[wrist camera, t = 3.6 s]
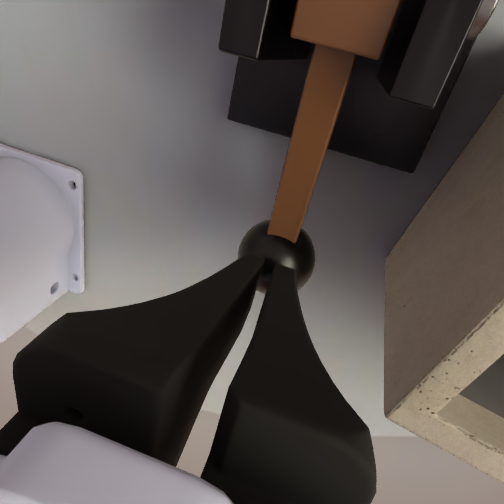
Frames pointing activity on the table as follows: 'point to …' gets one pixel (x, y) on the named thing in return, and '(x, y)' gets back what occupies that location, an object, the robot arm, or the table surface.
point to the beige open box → (452, 310)
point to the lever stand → (355, 75)
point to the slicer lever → (316, 122)
